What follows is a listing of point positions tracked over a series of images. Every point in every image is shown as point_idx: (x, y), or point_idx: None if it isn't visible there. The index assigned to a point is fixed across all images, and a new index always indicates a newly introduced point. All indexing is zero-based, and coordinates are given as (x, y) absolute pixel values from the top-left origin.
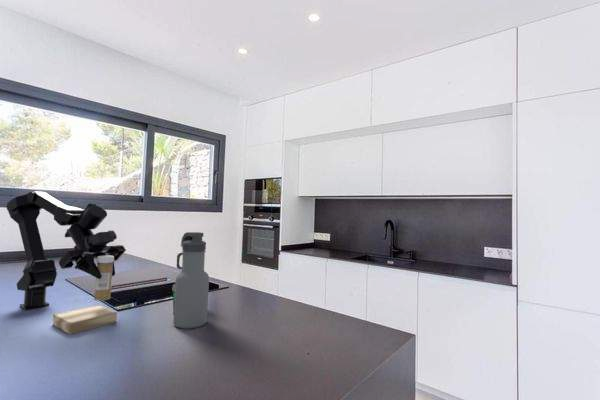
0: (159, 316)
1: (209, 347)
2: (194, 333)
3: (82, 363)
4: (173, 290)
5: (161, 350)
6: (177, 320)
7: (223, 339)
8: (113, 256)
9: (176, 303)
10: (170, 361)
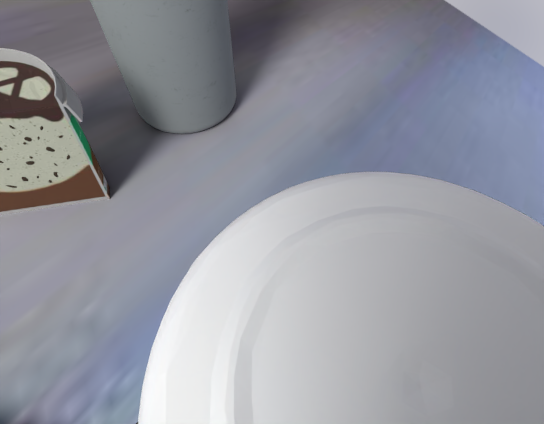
0: (159, 216)
1: (291, 18)
2: (245, 64)
3: (500, 129)
4: (82, 114)
5: (354, 63)
6: (234, 87)
7: (246, 17)
8: (245, 215)
9: (226, 43)
10: (374, 32)
